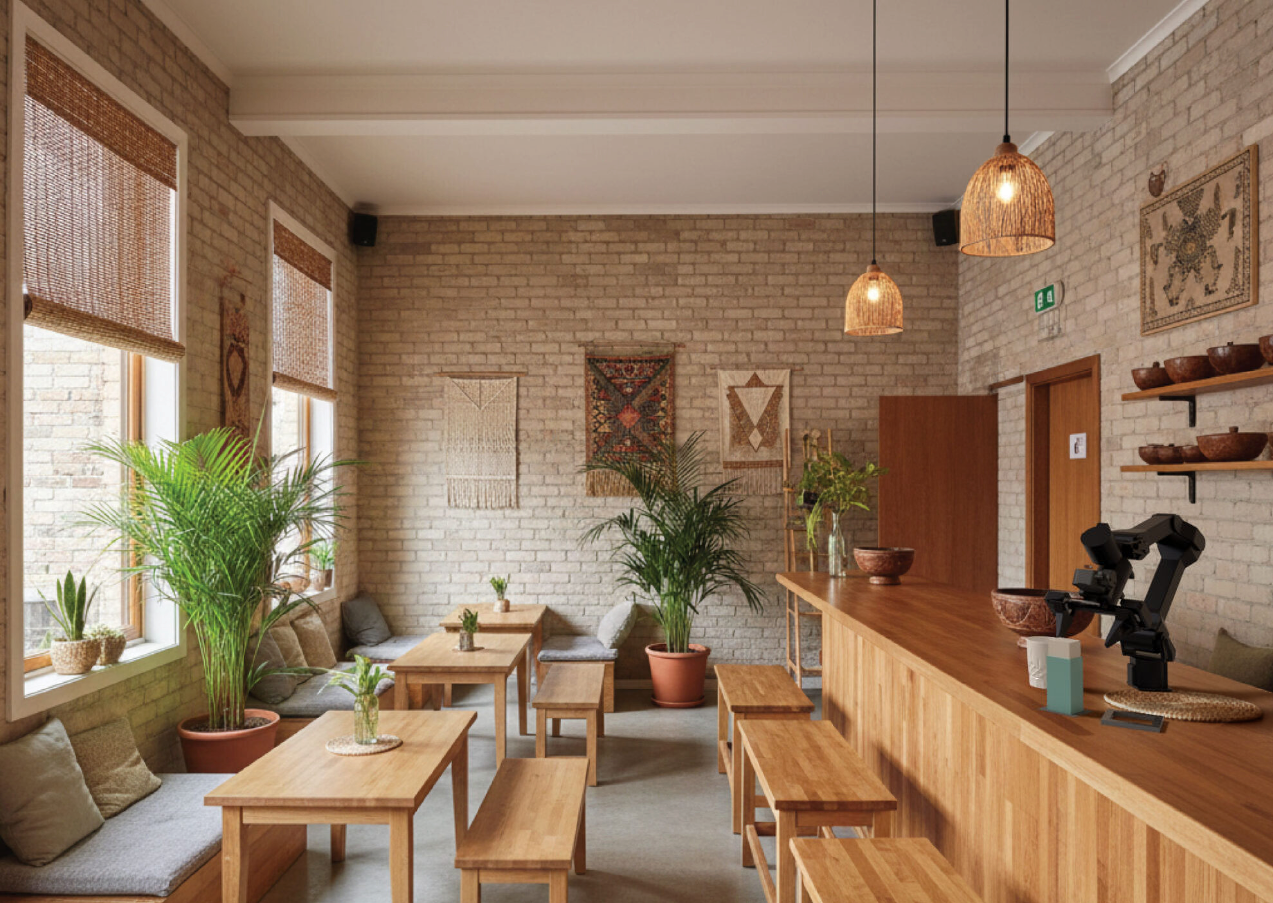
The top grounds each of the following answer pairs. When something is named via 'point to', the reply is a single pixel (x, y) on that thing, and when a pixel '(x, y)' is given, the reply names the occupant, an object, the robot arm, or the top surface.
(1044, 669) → the white cup
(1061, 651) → the peg
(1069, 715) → the pad
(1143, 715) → the socket
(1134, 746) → the top surface
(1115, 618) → the robot arm
